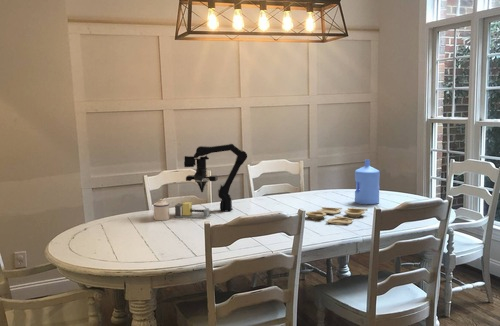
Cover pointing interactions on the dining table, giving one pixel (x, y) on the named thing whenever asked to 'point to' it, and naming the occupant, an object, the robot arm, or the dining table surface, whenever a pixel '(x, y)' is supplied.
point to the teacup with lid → (161, 210)
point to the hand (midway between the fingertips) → (202, 192)
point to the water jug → (367, 184)
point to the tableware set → (338, 220)
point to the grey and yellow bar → (180, 211)
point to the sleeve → (187, 208)
